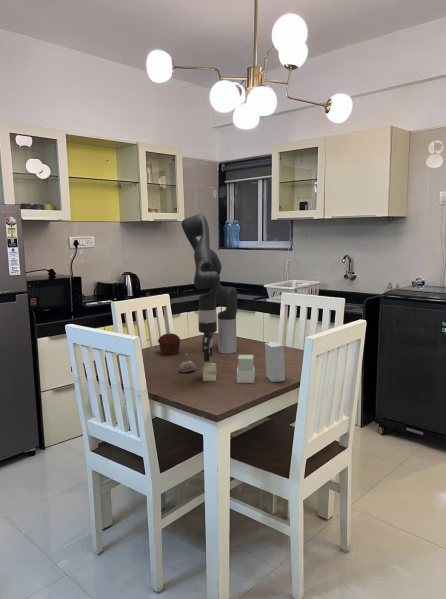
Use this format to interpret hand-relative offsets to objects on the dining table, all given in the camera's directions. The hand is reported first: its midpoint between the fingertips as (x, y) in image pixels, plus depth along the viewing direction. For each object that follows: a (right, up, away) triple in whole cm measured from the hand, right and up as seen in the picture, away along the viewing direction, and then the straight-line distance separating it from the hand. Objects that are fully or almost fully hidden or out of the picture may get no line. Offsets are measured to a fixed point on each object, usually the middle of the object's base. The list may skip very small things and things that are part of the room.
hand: (208, 358), depth 187 cm
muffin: (-21, -3, +42) cm, 47 cm away
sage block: (+15, -4, -2) cm, 16 cm away
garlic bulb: (-9, -7, +12) cm, 17 cm away
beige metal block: (+1, -9, +1) cm, 9 cm away
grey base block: (+16, -9, -1) cm, 18 cm away
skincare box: (+28, -9, 0) cm, 29 cm away
